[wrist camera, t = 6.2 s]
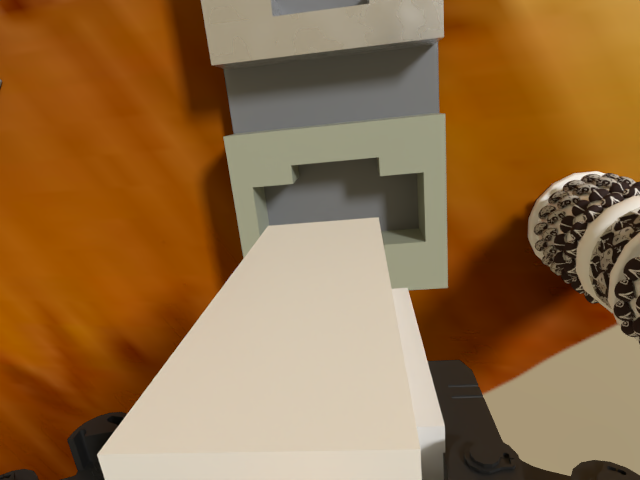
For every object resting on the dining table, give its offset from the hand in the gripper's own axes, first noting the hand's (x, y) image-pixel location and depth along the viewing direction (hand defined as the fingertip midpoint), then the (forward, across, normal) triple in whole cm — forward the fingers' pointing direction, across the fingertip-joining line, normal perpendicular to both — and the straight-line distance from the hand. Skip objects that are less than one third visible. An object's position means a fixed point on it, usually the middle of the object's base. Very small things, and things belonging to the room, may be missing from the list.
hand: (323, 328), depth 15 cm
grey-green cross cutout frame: (+20, 0, 0) cm, 20 cm away
